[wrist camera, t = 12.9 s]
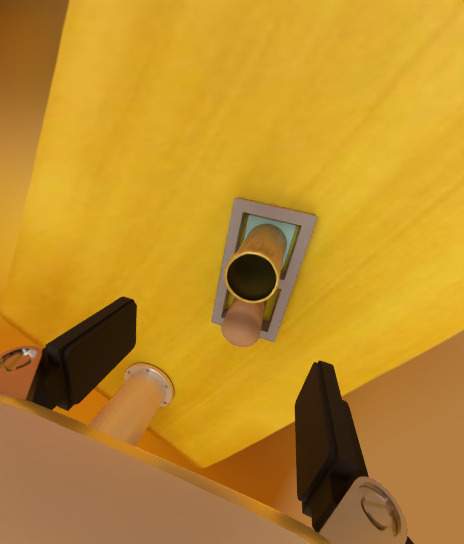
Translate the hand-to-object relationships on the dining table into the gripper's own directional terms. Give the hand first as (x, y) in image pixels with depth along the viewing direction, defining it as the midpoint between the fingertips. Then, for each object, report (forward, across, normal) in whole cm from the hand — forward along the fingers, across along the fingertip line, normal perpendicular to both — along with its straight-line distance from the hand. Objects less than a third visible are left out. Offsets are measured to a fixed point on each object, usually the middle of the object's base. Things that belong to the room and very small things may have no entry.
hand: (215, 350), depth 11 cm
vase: (+24, 0, 0) cm, 24 cm away
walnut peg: (+24, 0, +9) cm, 26 cm away
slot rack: (+24, 0, +4) cm, 25 cm away
